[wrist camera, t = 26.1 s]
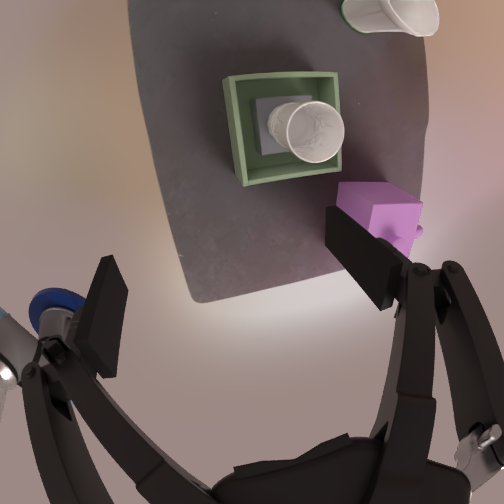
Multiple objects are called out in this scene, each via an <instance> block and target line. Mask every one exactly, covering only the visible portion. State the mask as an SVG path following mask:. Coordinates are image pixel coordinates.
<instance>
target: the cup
mask: <svg viewBox="0 0 504 504" xmlns="http://www.w3.org/2000/svg"><path fill="white" fill-rule="evenodd" d="M341 11H342V15H343V17H344V19H345V21H346V22H347V23H348V25H349V26H350V27H352V28H353V29H354V30H356V31H358V32H361V33H370V32H406V33H408V34H411V35H414V36H432V35H433V34H434V33H435V32H436V30H437V29H438V25H439V21H440V19H439V13H438V8H437V6H436V3H435V1H434V0H344V1H343V3H342V5H341Z"/></svg>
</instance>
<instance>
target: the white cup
mask: <svg viewBox="0 0 504 504" xmlns="http://www.w3.org/2000/svg"><path fill="white" fill-rule="evenodd" d="M267 125H268V130H269V134H270V135H271V136H272V137H273V139H274V140H275V141H276V142H278V143H279V144H280V145H281V146H283V147H284V148H285V149H287V150H288V151H290V152H291V153H293V154H294V155H296V156H297V157H299V158H300V159H302V160H304V161H306V162H310V163H319V162H323V161H326V160H328V159H330V158H331V157H333V156H334V155H335V154H336V153H337V152H338V150H339V149H340V147H341V145H342V142H343V139H344V124H343V121H342V118H341V116H340V115H339V113H338V112H337V111H336V110H335V109H334V108H333V107H332V106H330V105H329V104H327V103H324V102H320V101H302V102H291V103H284V104H282V105H280V106H277V107H275V109H274V110H273V111H272V112H271V113H270V115H269V119H268V123H267Z"/></svg>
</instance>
